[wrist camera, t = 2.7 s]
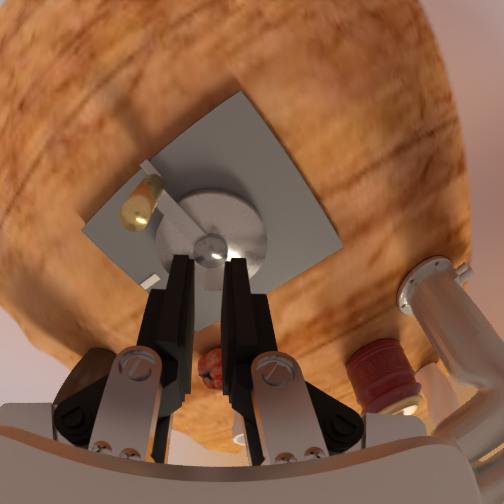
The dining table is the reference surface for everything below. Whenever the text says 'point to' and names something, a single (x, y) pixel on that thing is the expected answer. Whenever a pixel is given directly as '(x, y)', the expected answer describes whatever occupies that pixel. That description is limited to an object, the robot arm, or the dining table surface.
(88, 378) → the plant pot
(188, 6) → the dining table surface
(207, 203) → the crank handle
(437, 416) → the water bottle
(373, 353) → the canister
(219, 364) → the pomegranate
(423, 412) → the dining table surface
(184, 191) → the base
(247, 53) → the dining table surface
